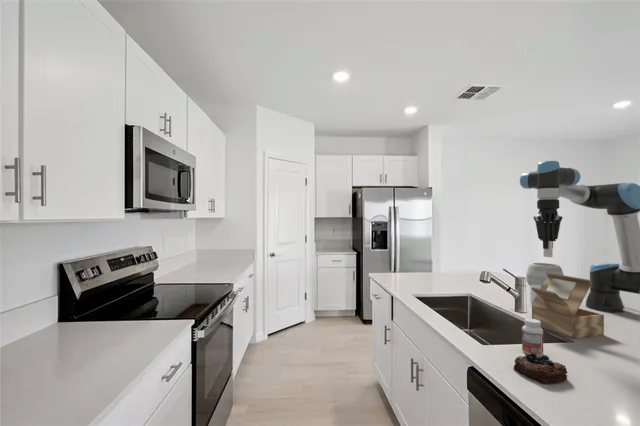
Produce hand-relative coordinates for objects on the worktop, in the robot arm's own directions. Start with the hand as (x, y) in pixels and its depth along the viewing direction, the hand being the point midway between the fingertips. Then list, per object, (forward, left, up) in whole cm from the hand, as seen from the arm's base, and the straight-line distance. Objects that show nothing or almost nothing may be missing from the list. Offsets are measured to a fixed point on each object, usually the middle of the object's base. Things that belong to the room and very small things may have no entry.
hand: (548, 256), depth 137 cm
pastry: (+37, +28, -31) cm, 56 cm away
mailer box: (-10, 0, -30) cm, 32 cm away
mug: (-21, -19, -31) cm, 42 cm away
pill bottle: (+25, +15, -31) cm, 42 cm away
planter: (-32, -28, -31) cm, 52 cm away
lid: (-7, 0, -16) cm, 17 cm away
